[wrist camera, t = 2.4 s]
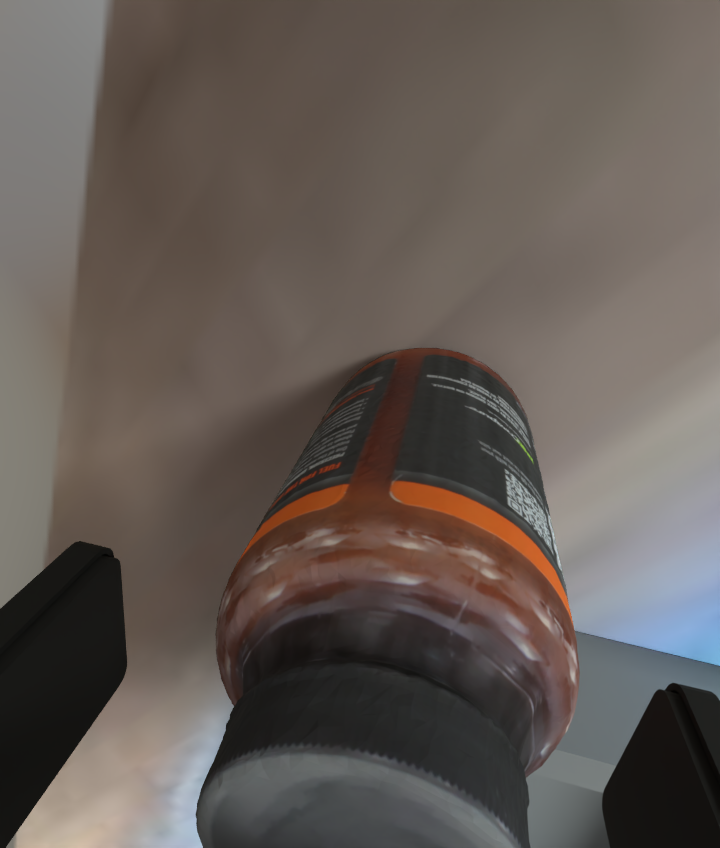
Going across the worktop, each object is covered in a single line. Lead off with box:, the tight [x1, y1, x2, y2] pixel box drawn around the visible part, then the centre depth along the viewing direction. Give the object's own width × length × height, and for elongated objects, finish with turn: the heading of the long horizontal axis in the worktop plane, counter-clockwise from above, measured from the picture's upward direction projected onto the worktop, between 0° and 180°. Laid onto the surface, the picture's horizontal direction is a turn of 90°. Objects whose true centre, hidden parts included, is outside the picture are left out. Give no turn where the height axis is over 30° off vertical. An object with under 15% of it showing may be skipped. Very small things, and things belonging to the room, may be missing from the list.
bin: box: [526, 631, 720, 848], centre depth 19 cm, size 14×14×4 cm
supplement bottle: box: [196, 348, 580, 848], centre depth 11 cm, size 6×6×11 cm
